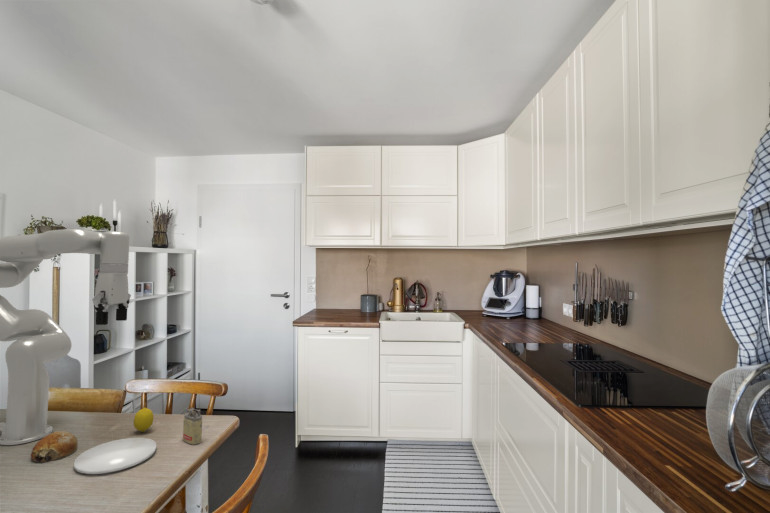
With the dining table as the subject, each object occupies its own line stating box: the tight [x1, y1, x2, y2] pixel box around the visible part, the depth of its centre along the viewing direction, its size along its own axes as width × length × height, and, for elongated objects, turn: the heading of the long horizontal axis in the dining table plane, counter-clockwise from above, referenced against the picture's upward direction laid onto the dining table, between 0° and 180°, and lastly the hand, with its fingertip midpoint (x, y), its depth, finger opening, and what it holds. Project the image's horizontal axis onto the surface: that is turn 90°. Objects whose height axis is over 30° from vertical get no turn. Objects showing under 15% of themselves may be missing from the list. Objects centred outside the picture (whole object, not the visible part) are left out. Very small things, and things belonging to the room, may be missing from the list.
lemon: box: [133, 407, 154, 433], centre depth 123 cm, size 6×6×8 cm
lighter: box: [182, 407, 203, 445], centre depth 117 cm, size 7×4×10 cm, turn 59°
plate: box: [73, 437, 157, 475], centre depth 106 cm, size 19×19×2 cm
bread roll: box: [30, 430, 78, 463], centre depth 107 cm, size 10×10×8 cm
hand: (111, 322), depth 119 cm, fingers open, 9 cm apart
